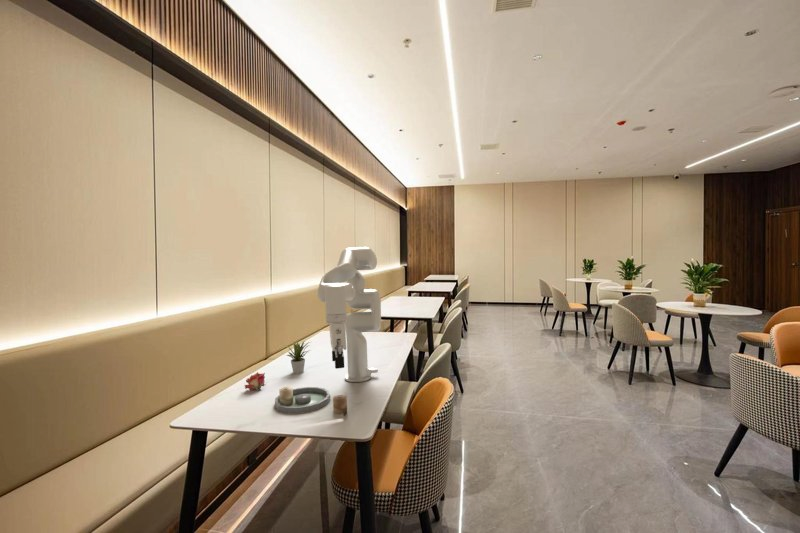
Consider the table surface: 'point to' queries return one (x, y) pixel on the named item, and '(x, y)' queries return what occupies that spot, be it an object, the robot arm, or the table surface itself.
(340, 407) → the walnut bead
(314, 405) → the groove tray
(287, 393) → the cream pillar candle
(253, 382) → the flower
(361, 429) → the table surface
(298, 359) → the house plant
